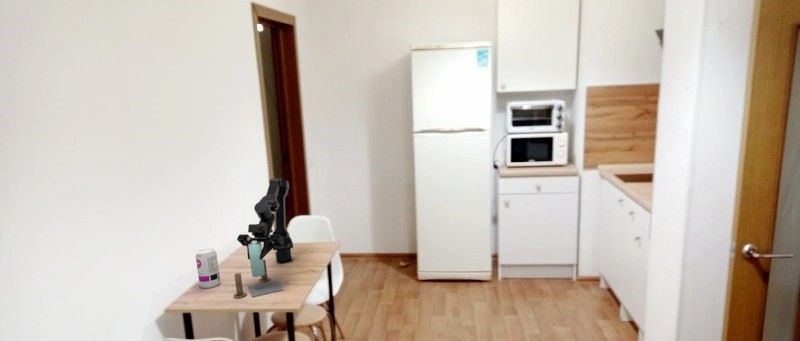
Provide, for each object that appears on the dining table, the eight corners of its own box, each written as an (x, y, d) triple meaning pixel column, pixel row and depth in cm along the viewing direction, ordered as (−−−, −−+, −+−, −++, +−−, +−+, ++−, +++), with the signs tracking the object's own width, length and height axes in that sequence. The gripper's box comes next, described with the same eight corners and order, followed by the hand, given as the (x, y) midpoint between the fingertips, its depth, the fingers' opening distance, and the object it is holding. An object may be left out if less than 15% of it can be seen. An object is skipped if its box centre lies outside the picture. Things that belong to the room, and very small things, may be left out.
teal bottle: (262, 271, 190) (259, 238, 188) (266, 274, 186) (262, 241, 184) (250, 274, 188) (246, 241, 186) (253, 278, 183) (249, 243, 181)
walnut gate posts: (263, 278, 199) (261, 258, 198) (273, 278, 198) (270, 258, 197) (230, 298, 180) (228, 276, 179) (241, 299, 178) (238, 277, 177)
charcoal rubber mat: (277, 280, 195) (277, 280, 195) (283, 290, 184) (283, 289, 184) (248, 287, 190) (248, 286, 190) (252, 297, 179) (252, 296, 179)
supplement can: (200, 290, 190) (195, 255, 188) (199, 284, 198) (194, 250, 195) (221, 285, 194) (217, 251, 192) (219, 279, 201) (214, 247, 199)
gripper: (236, 215, 189) (224, 249, 180) (277, 215, 185) (266, 250, 176) (249, 228, 198) (237, 262, 189) (288, 228, 194) (278, 262, 185)
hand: (254, 259), depth 184 cm, fingers closed on teal bottle, 5 cm apart
